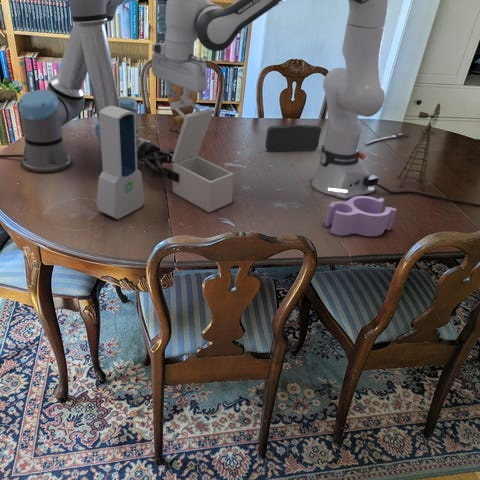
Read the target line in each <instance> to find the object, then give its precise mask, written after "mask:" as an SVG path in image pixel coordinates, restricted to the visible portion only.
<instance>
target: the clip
mask: <svg viewBox="0 0 480 480" xmlns="http://www.w3.org/2000/svg"><path fill="white" fill-rule="evenodd" d="M384 201H385V198H383V197H379V198H376V197H373V196H368V195H359V196H355V197H350V198H349V200H347V201H339V200H338V201H337V200H335V201H332V202H330V203H329V205H328V208H327V214H326V218H325V222H324V227H326V228H329V227H330V226H331V227H330V233H331V234H333V235H336V236H348V235H353V234H356V235H360V236H364V237H365V236H366V237H378V236H381V235H382V234H384V232H385V230H387V231H391V229H392V226H393V222H394V219H395V216H396V213H397V210H398V209H397V208H395V207H391V206H385V207H384V211H383V212H382V209H383V206H384Z"/></svg>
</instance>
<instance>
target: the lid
mask: <svg viewBox="0 0 480 480" xmlns="http://www.w3.org/2000/svg"><path fill="white" fill-rule="evenodd" d="M169 106H170V109H171V110H175V112H177V114H178V115H179V116H182V117H183V118H184V122H183V124H181V127H180V128H181V129H180V133H179V134H178V138H177V141H176V144H175V147H174V149H173V150H174V153H173V157H172V161H173V162H177V161H180V160H183V159H186V158H189V157H192V156H198V155H199V152H200V150H201V147H202V145H203V142H204V139H205V136H206V134H207V130H208V128H209V125H210V122H211V120H212V118H213V114H214V112H215V111H214V109H213V108H212V107H210V108H207V109H204V110H201V109H199V107H197V105H196V104H195V103H194V101H193V99H192V98H188V102H186V103H184V102H181V101H180V100H178V101H174V102H170V105H169ZM189 106H191V107H192V108H193V110H195V111H197V112H195V111H194V112H190V113H187V114H185V113H184V112H183V111H181V108H186V107H189ZM200 110H201V111H200Z"/></svg>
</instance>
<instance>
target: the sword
mask: <svg viewBox="0 0 480 480" xmlns="http://www.w3.org/2000/svg"><path fill="white" fill-rule="evenodd" d="M402 134H403V133H398V134H397V133H394V134H392V135H389V136H383V137H379V138H376V139H372V140H369V141H367V142H366V146H368V145H371V144H373V143H377V142H381V141H384V140H389V139H393V138H400V137H402V136H404V135H402ZM408 135H409V136H410V133H409V134H406V135H405V136H408Z"/></svg>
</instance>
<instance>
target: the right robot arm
mask: <svg viewBox="0 0 480 480" xmlns="http://www.w3.org/2000/svg"><path fill="white" fill-rule="evenodd" d="M347 1H348V6H349V8H348V16H347V21H346V26H345V31H344V36H343V43H342V49H341V51H342V56H343V58H344V61H345V67H335V68H332V69H331V70H329V71H328V72H327V73H326V75H325V76H324V78H323V82H322V86H323V87H322V88H323V91H324V93H325V97H326V108H327V109H326V111H327V123H326V124H327V125H326V131H325V137H324V142H323V144H322V146H321V150H320V155H319V163H318V167H317V170H316V172H315V175H314V177H313V179H312V181H311V185H312V188H314V189H315V190H316V191H319V192H321V193H323V194H326V195H330V196H335V197H338V198H340V199H351V198H352V197H356V196H364V195H368V194H372V193H375V186H376V187H378V188H380V189H382V190H384V191H385V192H387V193H389V194H392V195H393V194H394V195H398V194H399V195H400V194H415V195H421V196H425V197H429V198H430V197H431V198H435V199H439V200H443V201H444V200H445V201H449V202H454V203H460V204H465V205H469V206H475V207H480V203H474V202H469V201H465V200H460V199H454V198H449V197H444V196H440V195H434V194H429V193H425V192H420V191H414V190H400V191H398V190H397V191H393V190H389V189H388V188H387V187H385V186H383V185H381V184H379V183H378V182H379V177H378V176H376V175H373V174H372V175H371V174H370V171H369V169H367V168H366V167H365V166H364V165H363V163H362V162H361V161H359V159H360V160H362V161H363V160H365V158H366V154H365V153H363V152H362V151H361V152H360V151H359V150H358V146H359V141H360V137H361V133H362V127H361V123H360V121H359V116H360V117H366V118H369V117H373V116H375V115H376V114H377V113H379V112H380V111H381V109H382V108H383V106H384V104H385V100H386V95H385V94H386V93H385V91H384V88H383V86H382V82H381V76H380V75H381V74H380V54H381V53H380V52H381V47H382V43H383V38H384V33H385V29H386V23H387V17H388V12H389V0H347ZM285 2H288V0H236V1H234V2H233V3H231V4H230V5H228V6H226V7H222V6H221V5H219V4H217V3H215V2H213V1H211V0H166V3H165V4H166V5H165V17H164V18H165V21H164V22H165V27H166V30H165V34H164V41H163V42H159V43H154V44H152V46H151V49H152V50H151V51H152V52H153V53H152V56H151V73H152V75H153V77H155V78H158V79H159V80H162V81H164V84H165V87H166V90H167V97H169V98H175V97H176V90H174V86H173V85H175V86H179V87H180V88H182V90H183V94H182V95H180V100H179V101H181V102H184V103H186V102H188V99H189V97H190V95H191V93H192V92H194V93H196V94H197V93H199V94H200V93H203V92H205V91H206V90H207V88H208V72H207V64H206V62H205V61H204V59H203V58H202V57H198V56H196V51H197V49H196V48H197V40H198V41H199V43H200V44H201V45H202V46H203V47H204V48H205V49H207V50H208V51H212V52H221V51H223V50H226V49H227V48H228V47H230V45H232V43H233V42H234V41H235V39H236V38H237V36H238V35H239V33H240V32H241V31H242V30H243V29H245V28H246V27H247V26H248V25H250V24H251V23H253V22H254V21H256V20H257V19H259V18H260V17H262V16H263V15H264V14H266V13H268V12H269V11H270V10H271V9H273V8H275V7H277V6H279V5H281V4H282V3H283V4H284V3H285Z"/></svg>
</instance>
